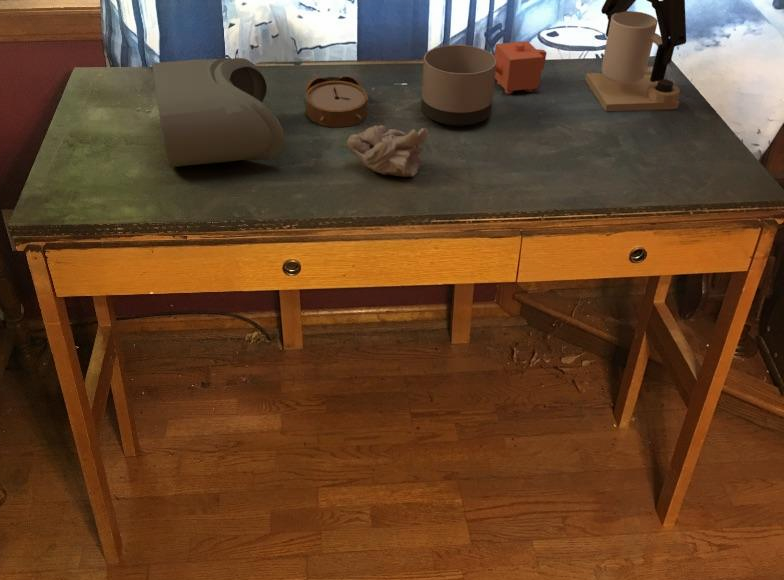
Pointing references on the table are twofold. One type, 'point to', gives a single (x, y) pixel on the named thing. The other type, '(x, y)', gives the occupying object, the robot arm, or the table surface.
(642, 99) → the scale
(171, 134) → the grey curved shell
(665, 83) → the button
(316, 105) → the alarm clock
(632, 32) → the mug
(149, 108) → the table surface
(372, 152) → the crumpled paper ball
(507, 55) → the orange footed box
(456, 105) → the planter
